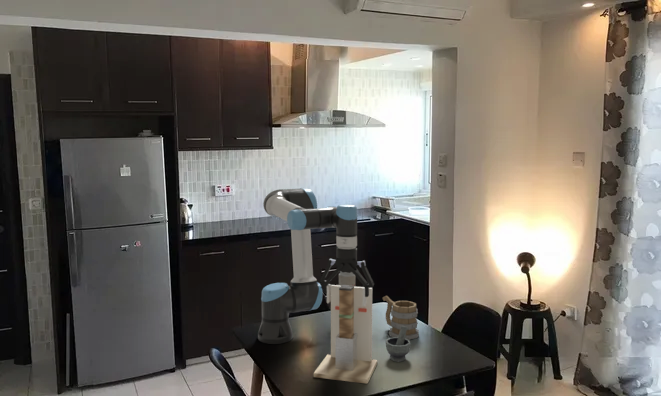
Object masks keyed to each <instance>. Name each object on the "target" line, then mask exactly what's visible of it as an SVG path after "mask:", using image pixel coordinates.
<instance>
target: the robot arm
mask: <svg viewBox="0 0 661 396" xmlns="http://www.w3.org/2000/svg"><path fill="white" fill-rule="evenodd" d="M262 205H263V209H264V212H265V213H266V214H268V215H269V216H270V217H273V218H280V219H282V220H283V221H285V222H287V227H288V228H289V229H290V233H291V234H290V235H291V251H292V255H291V256H292V267H293V268H292V269H293V270H292V271H293V277H292V279H291V280H290V285H289V284H288V283H287V282H275V283H270V284H268V285H266V286H264V287H263V288H262V290H261V297H260V300H261V323H260V326H259V329H258V332H257V339H258V341H259V342H261V343H262V344H270V345H278V344H279V345H280V344H284V343H288V342H291V341H292V339H293V338H294V332H293V328H292V326H291V323H290V320H289V319H290V317H289V315H290V314H291V313H300V312H306V311H308V312H310V311H312V310H317V309H318V308H319V307H320V305H322V302H323V294H326V303H327V304H330V303H331V285H332V284H331V283H330V282H331V281H332V280H333V279H334V278H335V277H336V276H337V274H339V273H340V271H341V272H347V273H351V272H352V273H353V274H354V275H355V278H356V279H357V280H358V281H359V282H360V283H361V284H362V287H364V288H363V306H365V305H366V297H368V296H369V288H373V287H374V285H375V282H374V280H373V278H372V277H371V274H370V272H369V269H368V268H367V264H366V260H365V259H364V260H362V261H358V248H357V246H358V217H359V215H358V208H357V206H356V205H354V204H339V205H337V206H327V207H322V208H321V207H320V208H319V207H318V201H317V197H316V195H315V192H314V191H313V190H312V189H310V188H304V187H303V188H302V187H301V188H287V189H286V188H285V189H284V188H283V189H276V190H272V191H270V192H269V193H268V194H267V195H265V198H264V200H263V203H262ZM329 228H334V229H336V234H335V235H336V237H335V239H336V254H335V255H336V259H333V258H329V259H328V260H327V265H326V267H325V269H324V272H322V276H321V277H320V279H319V282H318V279H317V278H316V277H315V276H314V269H313V255H312V254H313V252H312V237H311V234H312V233H311V230H313V229H329ZM334 265H335V266H336V267H337V268H336V269H335V270H334V271H333V272H332V274H331V275H329V277H328V278H327V276H328V274H329V272H330V270H331V268H332V266H334ZM358 266H359V268H361V271H362V273H363V275H364V276H363V275H362V274H361V273H360V270H359V269H358V268H357V267H358ZM364 277H365V278H364ZM326 278H327V279H326ZM321 284H322V285H323V288H322V285H321ZM323 289H324V290H323ZM323 292H324V293H323Z"/></svg>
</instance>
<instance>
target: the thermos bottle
mask: <svg viewBox="0 0 661 396" xmlns="http://www.w3.org/2000/svg"><path fill="white" fill-rule="evenodd" d="M338 285H340V286H342V285H351V286H354V287H356V276H355V275H354V274H353V273H352V272H351V273H347V272H341V271H339V272H338Z"/></svg>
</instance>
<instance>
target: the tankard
mask: <svg viewBox="0 0 661 396" xmlns="http://www.w3.org/2000/svg"><path fill="white" fill-rule="evenodd" d="M382 300H383V301H382V302H385V301H386V303H387V305H386V306H387V307H386V311H385V321H386V324H387V325H389V326H390V328H389V332H388V334H389V336H390V338H394V337H399V333H400V330H401V326H405V327H407V328H408V329H407V330H406V336H405V339H408V340H409V341H410V340H413V339H417V338H419V335H420V334H419V329H418V324H419V323H418V318H417V317H418V314H419V312H418V308H417V303H416V302H413V301H409V300H397V301H393V300H392V299H391V298H390V297H389V296H388V295H385V296H383V297H382ZM391 317H392V318H391Z"/></svg>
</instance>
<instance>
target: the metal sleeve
mask: <svg viewBox="0 0 661 396" xmlns="http://www.w3.org/2000/svg"><path fill="white" fill-rule="evenodd" d="M356 365H357V333H354V335H353V337H352V338H343V337H339V334H338V335H337V336H336V369H341V370H349V371H353V370H354V368H355V366H356Z"/></svg>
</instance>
